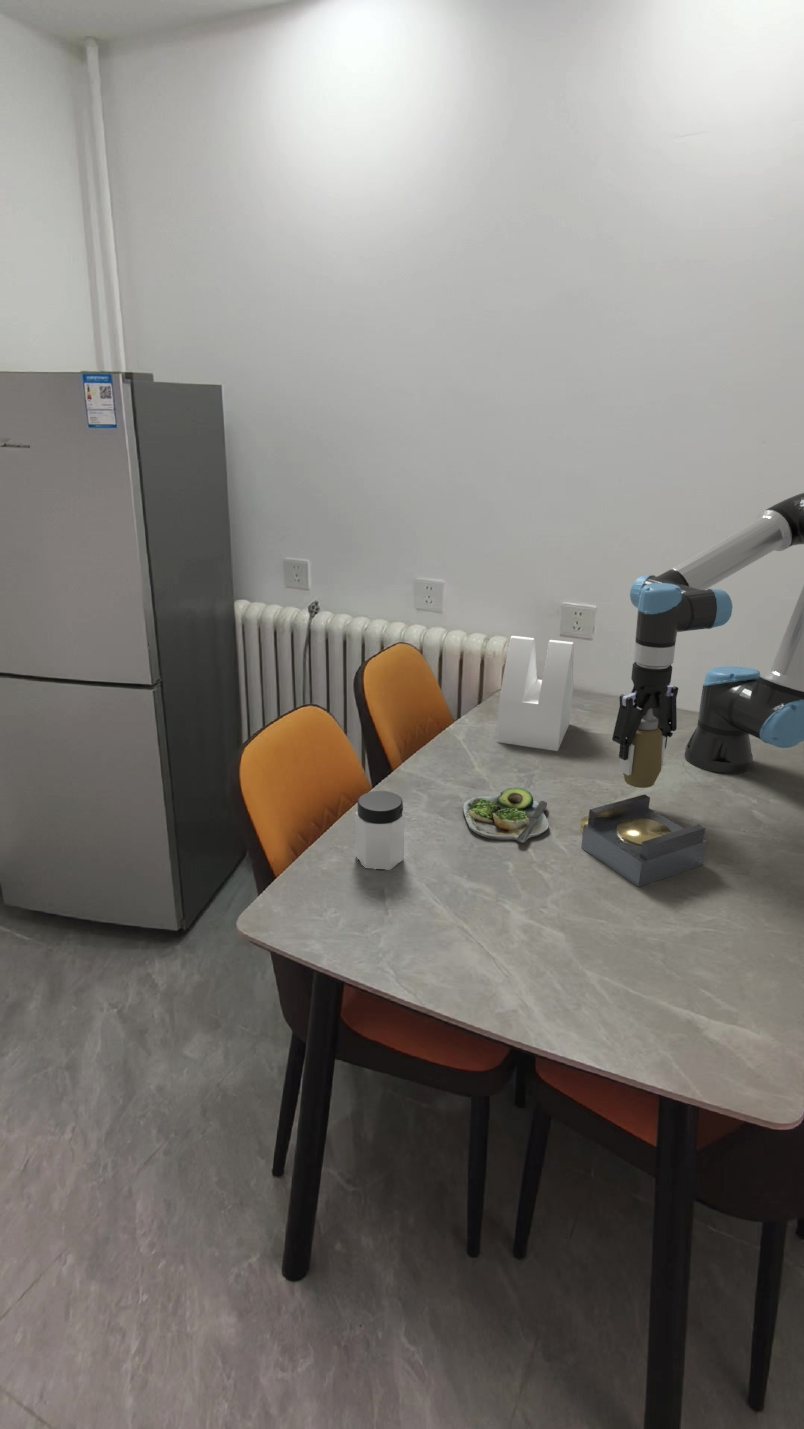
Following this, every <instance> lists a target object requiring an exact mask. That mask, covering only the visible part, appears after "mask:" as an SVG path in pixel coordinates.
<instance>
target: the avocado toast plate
mask: <svg viewBox="0 0 804 1429" xmlns="http://www.w3.org/2000/svg"><path fill="white" fill-rule="evenodd" d="M547 807H548V803H547V802H546V801H545V800H541V801H536V800H534V797H533V795H532V793H531V792H530V791H528V790H527V789H525V788H522V787H510V788H506V789H504V790H503V791H501V792H500V794H499V795H498V796H487V795H486V796H481V795H480V796H474V797H472V798H469V799H467V800H466V801H465V802H464V803H463V805H462V814H463V816H464V817H465V820H466V824H467V825H468V827H469V829H470V830H471V831H472V832H473V833H475V834H477V835H478V836H481V837H483V838H486V839H490V840H496V841H516V842H518V843H519V844H520V843H521V844H522V843H526V842H527V840H528V839H530V838H533V837H537V836H539V835H541V834H543V833H545V832H547V830H548V829H549V826H550V825H549V821H548V819H547V817H546V814H545V813H544V811H545V810H546V809H547ZM475 820H476V821H479V822H483V823H489V824H492V825H494V826H496V827H497V828H496V829H497V830H499V831H498V832H490V831H487V830H485V829H483V828H481V827H480V826H479V825H478V824H477V823H476V821H475Z"/></svg>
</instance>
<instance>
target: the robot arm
mask: <svg viewBox="0 0 804 1429" xmlns="http://www.w3.org/2000/svg"><path fill="white" fill-rule="evenodd" d="M797 545H798V546H799V545H804V492H802V493H799V494H796V495H794V496H791V497H789V498H787V499H784V500H781V501H779V502H778V503H775V504H774V505H772V506H770V507H768V508H767V509H765V510H763V511H762V512H760V513H759V514H758V515H757V517H756V520H755V521H753V522H752V523H749V524H748V525H746V526H744V527H742V528H741V529H739V530H737V531H735V532H733V533H732V534H730V535H729V536H727V537H725V538H723V539H721V540H720V541H719V540H718V542H716V543H714V544H713V545H711V546H709V547H707V548H706V549H704V550H702V551H700V552H699V553H696V554H695V555H693V556H692V557H689V558H688V559H686V560H684V561H683V562H681V563H679V564H678V565H675V566H674V567H672V568H671V569H668V570H667V571H665V572H663V573H661V574H659V575H657V576H656V575H654V574H650V575H649V574H644V575H641V576H639V577H637V578H636V579H635V580H634V581H633V583H632V585H631V587H630V590H629V599H630V601H631V604H632V605H633V606H634V607H635V608H636V609H637V616H636V631H635V641H634V648H633V649H634V650H633V652H634V653H633V661H634V662H633V663H632V668H631V676H630V677H631V678H630V679H631V681H632V683H633V688H632V690H631V692H630V693H628V694H626V695H625V694H623V693H622V694H620V696H619V707H618V713H617V716H616V721H615V725H614V730H613V733H612V738H611V739H612V741H613V742H615V743H617V744H618V745H619V750H618V753H619V754H618V758H619V769H618V771H619V772H621V773H622V774H623V773H624V774H626V775H628V776H629V775H631V772H632V763H633V754H634V745H632V741H633V739H634V736H635V734H636V732H637V729H638V727H639V725H640V722H641V720H642V718H643V716H644V715H646V713H647V711H648V710H649V709H651V708H652V711H653V716H654V717H656V718H657V719H658V728H659V729H660V730H661V731H662V765H661V767H662V766H663V765H664V759H665V758H664V757H665V750H666V748H667V745H668V744H667V743H668V737H669V738H671V737H673V735H674V732H676V731H677V727H678V724H677V723H678V722H677V720H678V719H677V716H678V714H677V697H678V693H679V687H678V686H675V685H672V684H671V683H672V682H671V681H672V674H673V666H672V665H673V664H674V662H675V660H674V658H675V649H676V642H677V636H678V633H679V632H680V633H682V632H689V631H690V632H691V631H699V630H705V629H706V630H710V629H714V628H716V627H722V626H724V625H726V624H727V623H728V622H729V621H730V619H731V617H732V612H733V601H732V599H731V597H730V595H729V594H728V592H726V591H725V590H723V589H720V588H719V589H718V588H715V589H714V588H711V587H713V586H714V585H716V584H718V583H720V582H722V581H723V580H725V579H727V578H728V577H730V576H732V575H734V574H735V573H737V572H739V571H741V570H743V569H745V568H747V567H748V566H750V565H751V564H753V563H754V562H757V561H758V560H760V559H761V558H763V557H765V556H767V555H769V554H770V553H772V552H775V551H776V552H782V551H785V550H786V549H789V548H790V547H792V546H797ZM794 606H795V607H794V609H793V611H792V614H791V616H790V618H789V619H790V620H789V621H788V624H787V627H786V628H785V632H784V634H783V637H782V638H781V642H780V644H779V647H778V649H777V652H776V655H775V656H774V659H773V661H772V665H771V667H770V668H769V670H767V671H765V672H763V673H761V672H760V671H759V670H758V669H755V668H752V667H746V666H734V665H732V666H730V665H729V666H728V665H726V666H724V665H723V666H715V667H713V668H711V669H709V670H708V671H707V672H706V674H705V678H704V681H703V684H702V689H701V696H700V698H701V699H700V705H699V711H698V719H697V723H696V724H697V725H696V727H695V729H694V731H693V733H692V734H691V736H690V738H689V740H688V743H687V744H686V745H685V750H684V758H685V760H686V761H688V762H689V763H690V764H692V765H693V766H695V767H697V768H700V769H703V770H706V771H710V772H715V773H722V774H739V773H743V772H747V771H749V770H750V769H751V768H752V763H753V758H754V756H753V753H752V745H751V739H750V735H751V736H753V737H754V738H757V739H758V740H760V741H762V742H763V743H764V744H769V745H772V746H775V747H776V748H781V749H789V748H792V747H795V746H797V745H799V744H800V743H803V742H804V585H803V586H802V589H801V591H800V594H799V596H798V598H797V601H796V604H795V605H794Z"/></svg>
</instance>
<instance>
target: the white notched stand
mask: <svg viewBox="0 0 804 1429" xmlns="http://www.w3.org/2000/svg"><path fill="white" fill-rule="evenodd" d="M508 644H509V645H508V649H507V654H506V658H505V659H506V660H505V666H504V670H503V671H504V672H503V675H502V680H501V681H502V682H501V688H500V693H499V697H498V709H497V710H498V713H497V724H496V726H497V727H496V741H495V742H496V743H501V744H508V745H516V746H522V747H528V748H533V749H540V750H541V749H543V750H548V751H554V752H555V751H556V752H559V749H560V747H561V744H562V743H563V739H564V738H565V735H566V732H567V731H568V729H569V726H570V723H571V722H570V720H571V714H572V712H571V711H572V700H573V692H574V691H573V690H574V648H575V647H574V641H564V640H558V639H557V640H556V639H550V640H549V641H548V644H547V648H546V649H547V651H546V655H545V656H546V657H545V662H544V668H543V674H542V679H538V676H537V675H538V674H537V673H538V672H537V656H536V654H537V653H536V638H535V637H528V636H519V635H511V636H510V638H509V643H508Z"/></svg>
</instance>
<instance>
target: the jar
mask: <svg viewBox="0 0 804 1429" xmlns="http://www.w3.org/2000/svg"><path fill="white" fill-rule="evenodd" d="M403 802H404V801H403V798H402V797H401V796H400V795H399V794H397V793H395V792H391V791H387V790H373V791H368V792H366V793H365V792H364V793H363V794H362V795H360V796H359V797H358V798H357V811H355V813H354V815H355V817H354V819H355V820H354V823H355V824H354V826H355V830H354V832H355V835H354V836H355V837H354V838H355V842H354V843H355V844H354V845H355V855H356V856H357V858H358V859H359V860H360V862H361V863H362V864H363V865H364V867H366V868H376V869H385V870H384V871H391V870H392V869H393V868H395V867H396V866H397V865H398V863H399V864H400V863H401V862H402V861H404V858H405V828H406V827H405V824H406V822H405V821H406V820H405V819H406V817H405V816H406V815H405V814H404V813H403V811H404V803H403ZM357 858H356V859H357ZM358 859H357V860H358ZM360 862H359V863H360ZM361 863H360V864H361ZM362 864H361V865H362ZM364 867H363V868H364ZM376 869H375V870H376Z"/></svg>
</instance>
